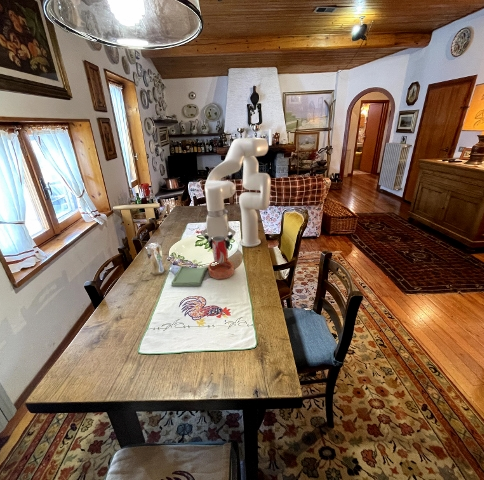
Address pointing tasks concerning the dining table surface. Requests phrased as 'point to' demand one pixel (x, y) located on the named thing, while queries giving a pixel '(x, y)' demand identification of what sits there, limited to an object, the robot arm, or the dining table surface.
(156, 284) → the dining table surface
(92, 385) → the dining table surface
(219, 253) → the soda can
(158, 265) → the beer glass
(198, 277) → the tray
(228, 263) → the bowl
